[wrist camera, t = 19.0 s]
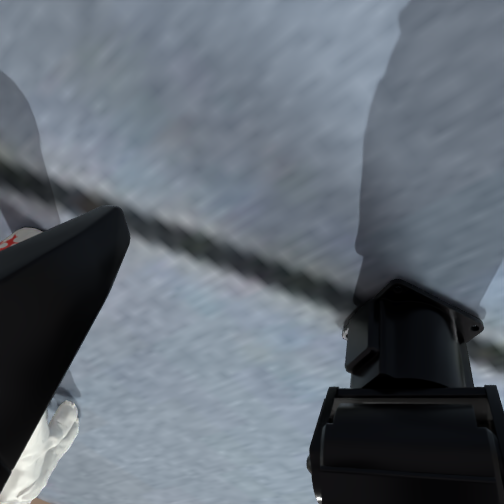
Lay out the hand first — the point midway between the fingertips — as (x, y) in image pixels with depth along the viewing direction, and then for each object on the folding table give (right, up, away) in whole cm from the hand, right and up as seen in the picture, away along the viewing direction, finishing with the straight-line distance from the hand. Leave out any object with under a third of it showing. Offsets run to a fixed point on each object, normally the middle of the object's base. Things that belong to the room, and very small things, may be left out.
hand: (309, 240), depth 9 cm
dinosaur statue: (-23, -17, +39) cm, 48 cm away
